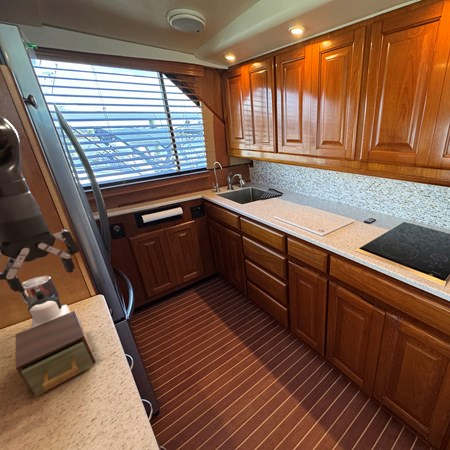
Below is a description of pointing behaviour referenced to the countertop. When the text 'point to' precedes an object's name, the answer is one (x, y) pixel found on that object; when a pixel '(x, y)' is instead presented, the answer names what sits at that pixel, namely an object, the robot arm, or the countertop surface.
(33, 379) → the drawer
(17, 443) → the countertop surface
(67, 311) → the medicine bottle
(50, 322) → the cabinet
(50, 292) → the silver metal tumbler
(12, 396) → the countertop surface
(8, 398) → the countertop surface
